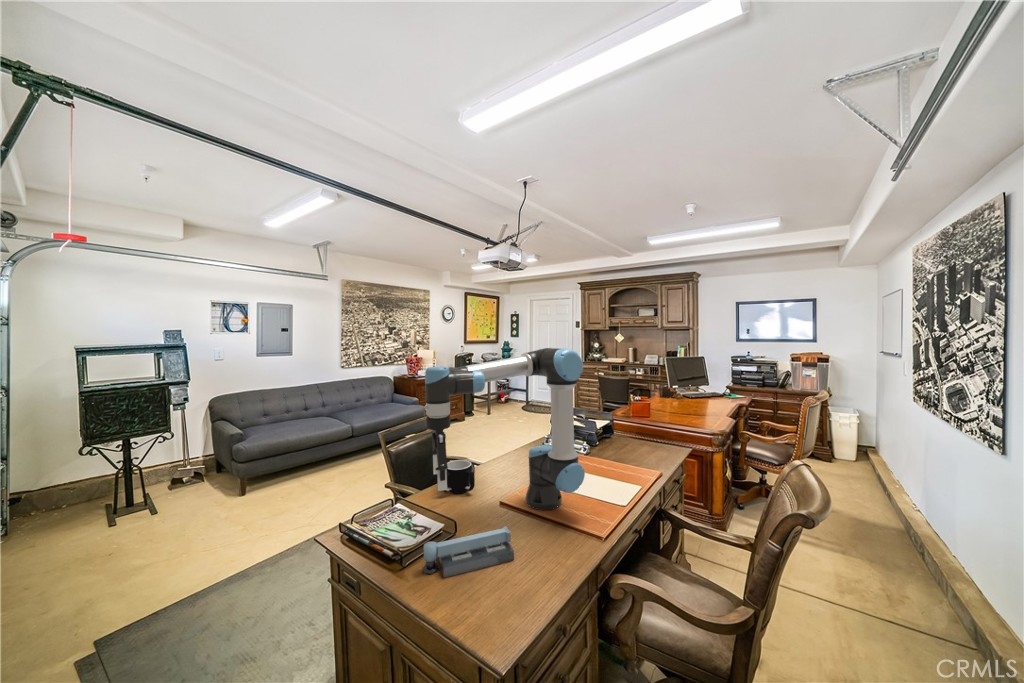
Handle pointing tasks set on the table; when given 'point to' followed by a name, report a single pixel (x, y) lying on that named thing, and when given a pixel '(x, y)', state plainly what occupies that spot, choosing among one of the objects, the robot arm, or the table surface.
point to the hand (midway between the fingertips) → (439, 481)
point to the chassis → (476, 558)
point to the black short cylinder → (430, 567)
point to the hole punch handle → (465, 543)
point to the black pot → (460, 476)
